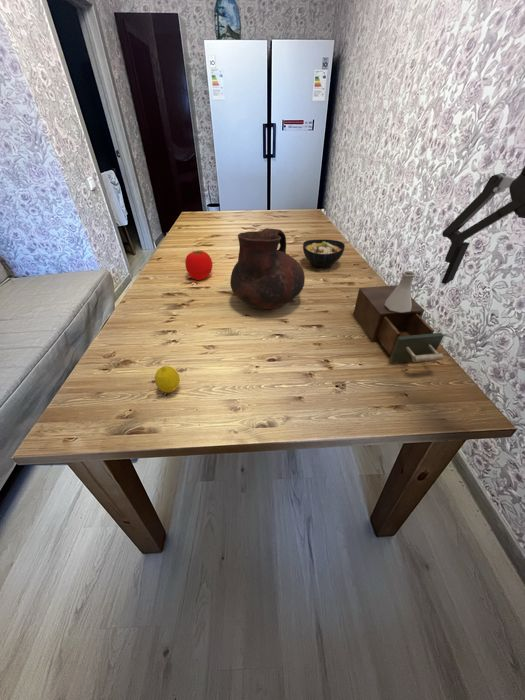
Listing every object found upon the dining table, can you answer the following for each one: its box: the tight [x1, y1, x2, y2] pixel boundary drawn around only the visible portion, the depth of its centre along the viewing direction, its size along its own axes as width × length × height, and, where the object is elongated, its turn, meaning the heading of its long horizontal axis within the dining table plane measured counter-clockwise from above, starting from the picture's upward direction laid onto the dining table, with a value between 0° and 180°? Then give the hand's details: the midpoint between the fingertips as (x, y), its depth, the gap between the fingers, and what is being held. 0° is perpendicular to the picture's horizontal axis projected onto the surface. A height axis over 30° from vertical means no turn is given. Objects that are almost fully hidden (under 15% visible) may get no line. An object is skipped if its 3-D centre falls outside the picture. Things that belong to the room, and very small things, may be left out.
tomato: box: [184, 250, 214, 281], centre depth 113 cm, size 10×11×11 cm
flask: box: [385, 270, 416, 313], centre depth 76 cm, size 7×7×10 cm
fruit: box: [154, 365, 181, 393], centre depth 67 cm, size 6×6×8 cm
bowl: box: [302, 239, 346, 270], centre depth 121 cm, size 17×17×10 cm
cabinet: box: [352, 284, 425, 343], centre depth 86 cm, size 15×13×10 cm
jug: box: [229, 227, 306, 310], centre depth 94 cm, size 25×25×25 cm
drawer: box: [376, 313, 445, 364], centre depth 76 cm, size 19×12×8 cm, turn 7°
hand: (488, 296), depth 46 cm, fingers open, 13 cm apart
